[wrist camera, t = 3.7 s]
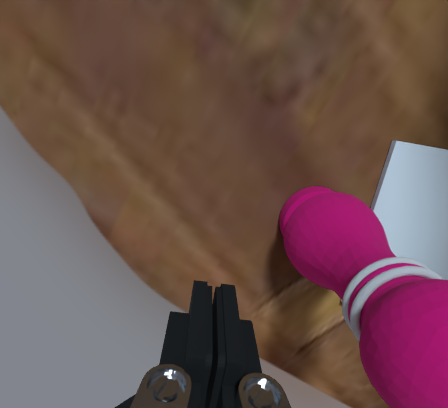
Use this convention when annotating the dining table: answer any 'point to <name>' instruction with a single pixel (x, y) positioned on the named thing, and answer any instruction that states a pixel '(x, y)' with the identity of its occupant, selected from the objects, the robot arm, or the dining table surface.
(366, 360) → the pepper mill
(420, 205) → the mat
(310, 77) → the dining table surface
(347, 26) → the dining table surface
